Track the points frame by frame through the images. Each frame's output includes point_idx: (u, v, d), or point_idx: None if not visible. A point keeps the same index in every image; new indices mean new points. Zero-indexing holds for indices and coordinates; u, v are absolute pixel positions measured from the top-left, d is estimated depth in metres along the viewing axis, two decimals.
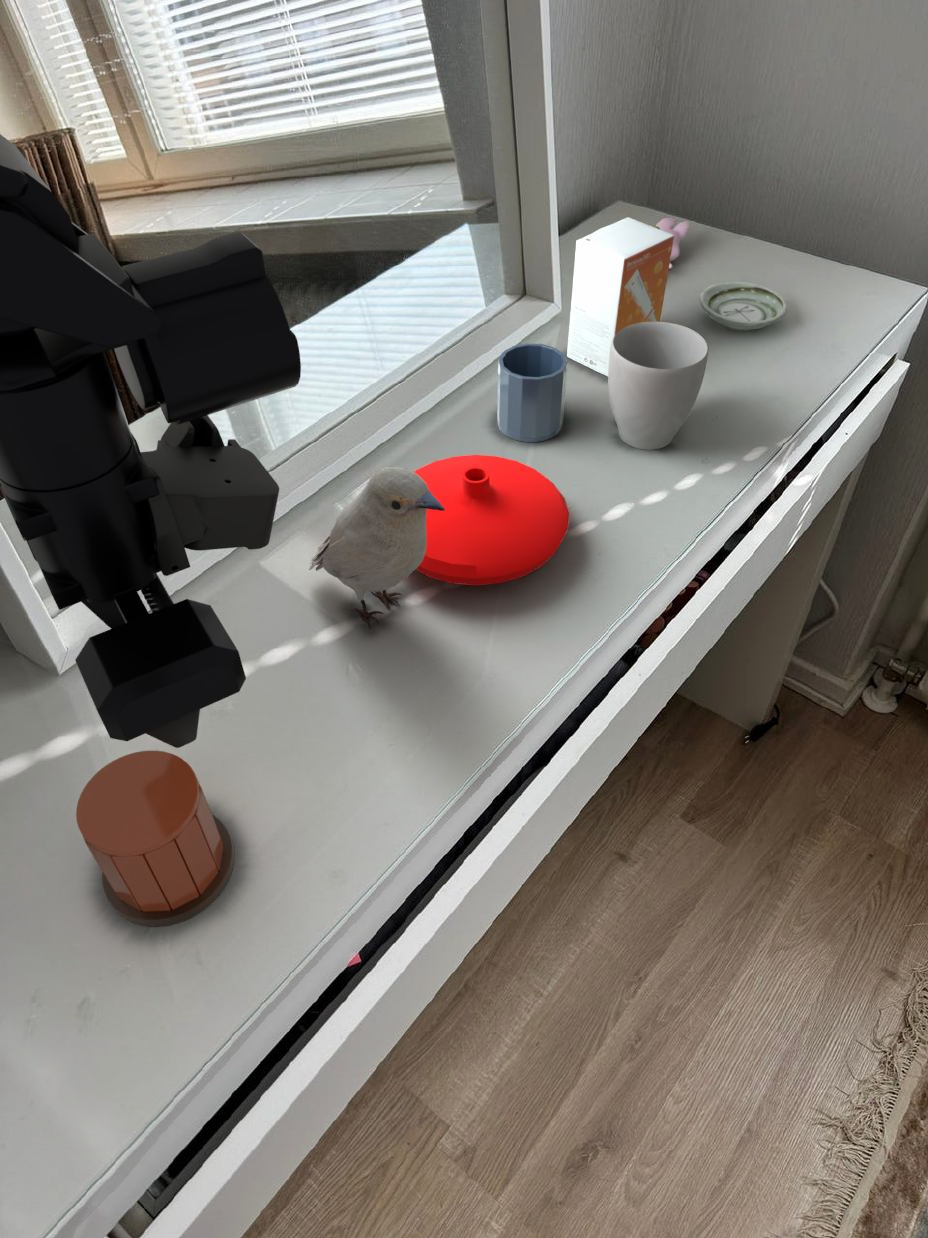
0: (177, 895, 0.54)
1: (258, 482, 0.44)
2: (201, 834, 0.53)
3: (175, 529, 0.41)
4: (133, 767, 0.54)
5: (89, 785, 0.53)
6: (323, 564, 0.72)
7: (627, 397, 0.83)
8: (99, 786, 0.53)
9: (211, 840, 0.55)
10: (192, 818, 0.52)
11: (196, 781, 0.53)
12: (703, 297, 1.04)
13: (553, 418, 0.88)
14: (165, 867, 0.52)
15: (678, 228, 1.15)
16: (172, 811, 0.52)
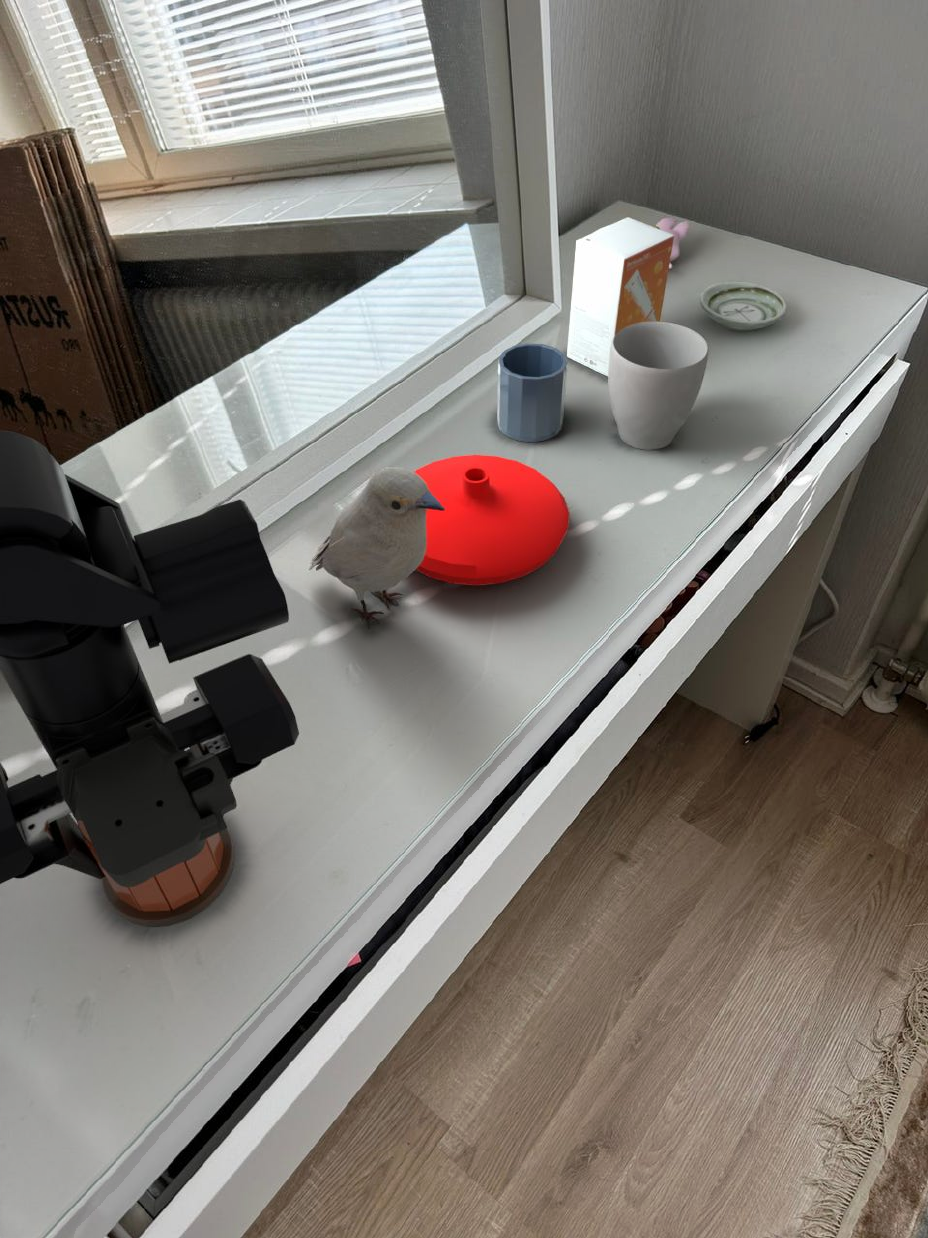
0: (177, 895, 0.54)
1: (126, 852, 0.43)
2: None
3: (60, 792, 0.45)
4: None
5: None
6: (323, 564, 0.72)
7: (627, 397, 0.83)
8: None
9: (211, 840, 0.55)
10: None
11: None
12: (703, 297, 1.04)
13: (553, 418, 0.88)
14: None
15: (678, 228, 1.15)
16: None
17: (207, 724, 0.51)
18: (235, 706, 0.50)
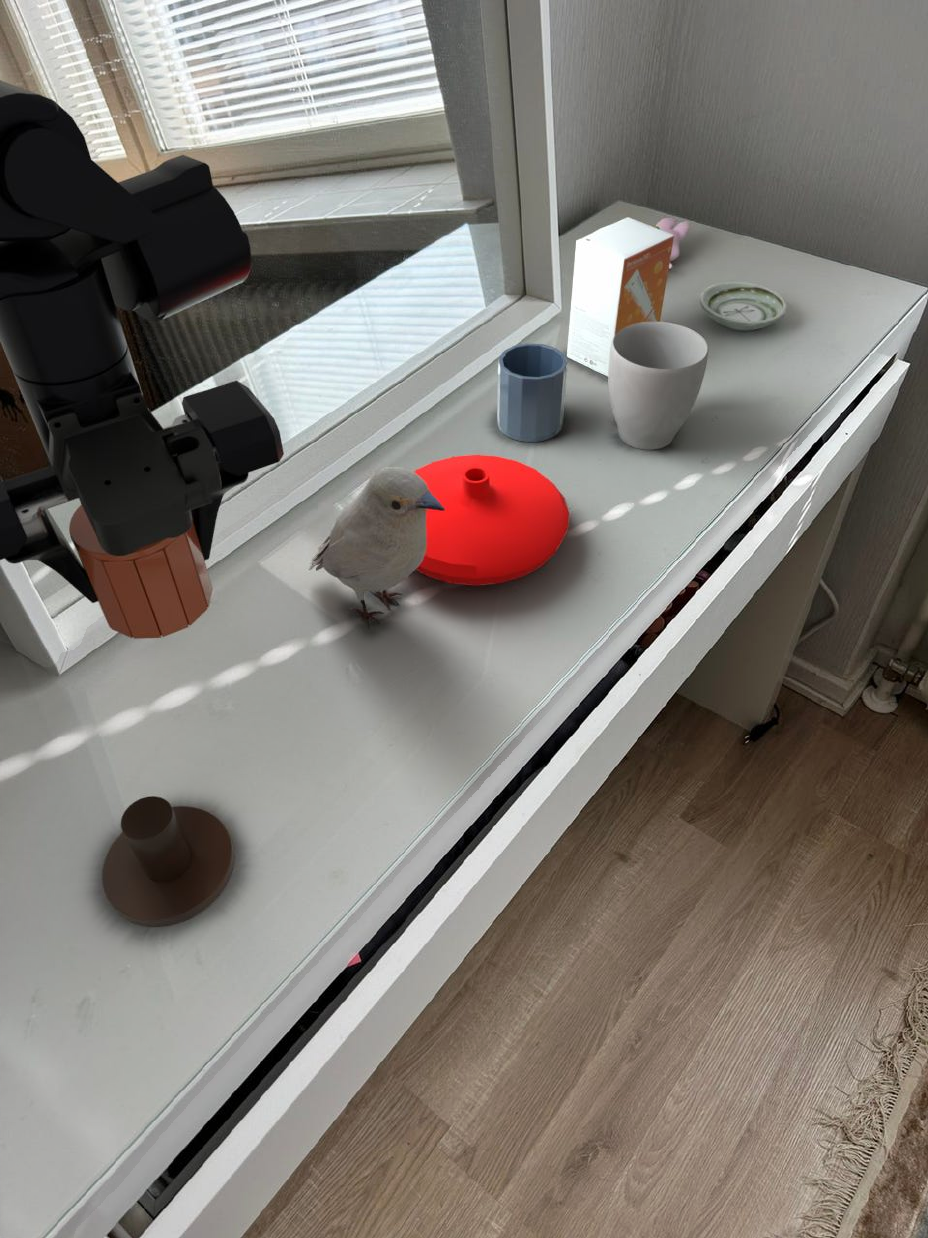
0: (166, 619, 0.56)
1: (114, 506, 0.45)
2: (190, 555, 0.55)
3: (52, 462, 0.47)
4: None
5: None
6: (323, 564, 0.72)
7: (627, 397, 0.83)
8: None
9: (200, 570, 0.57)
10: None
11: None
12: (703, 297, 1.04)
13: (553, 418, 0.88)
14: (155, 581, 0.54)
15: (678, 228, 1.15)
16: None
17: None
18: (221, 417, 0.52)
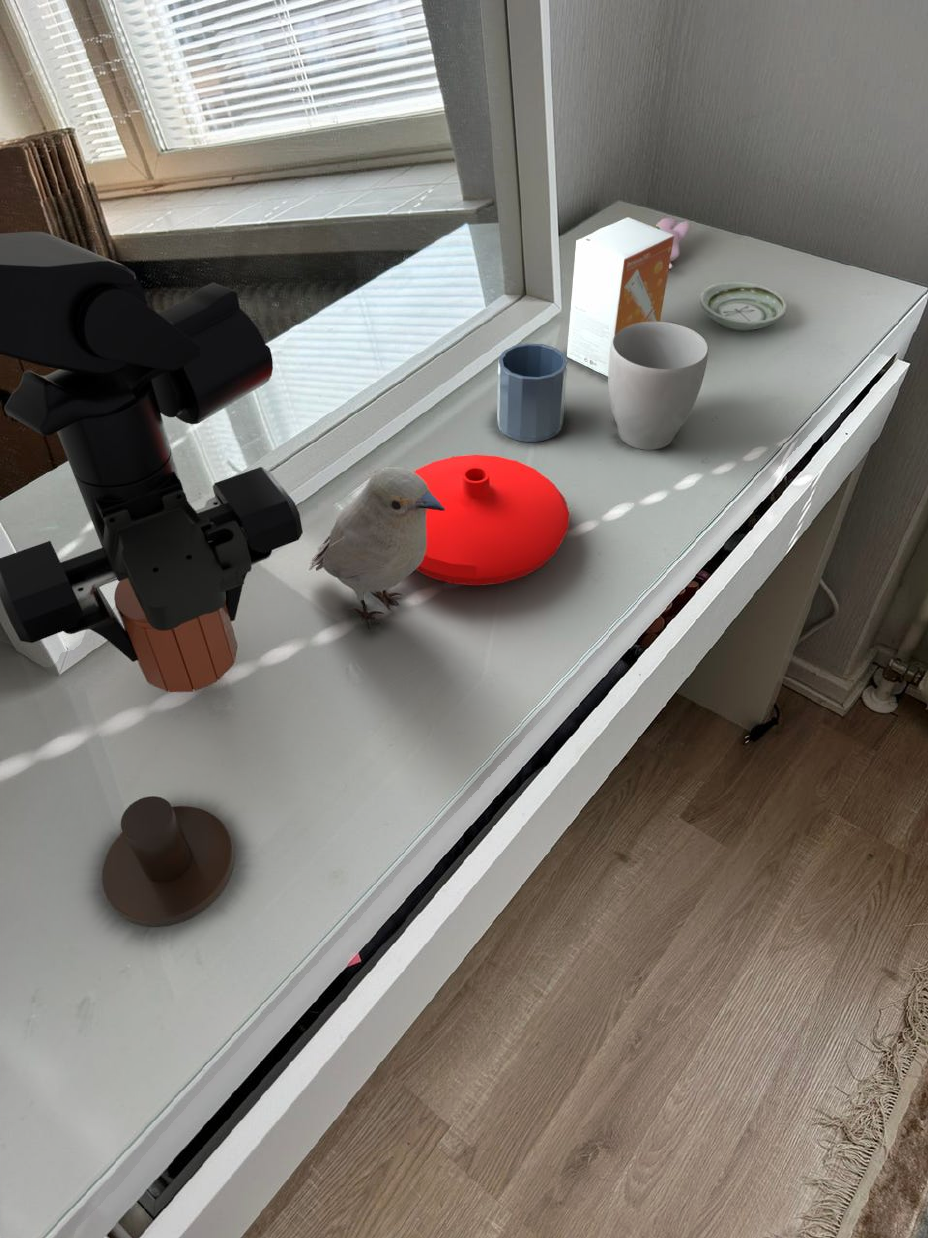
0: (198, 676, 0.64)
1: (162, 591, 0.52)
2: (219, 620, 0.63)
3: (107, 550, 0.54)
4: None
5: None
6: (323, 564, 0.72)
7: (627, 397, 0.83)
8: None
9: (227, 631, 0.65)
10: None
11: None
12: (703, 297, 1.04)
13: (553, 418, 0.88)
14: (190, 644, 0.62)
15: (678, 228, 1.15)
16: None
17: (225, 519, 0.60)
18: (249, 502, 0.60)
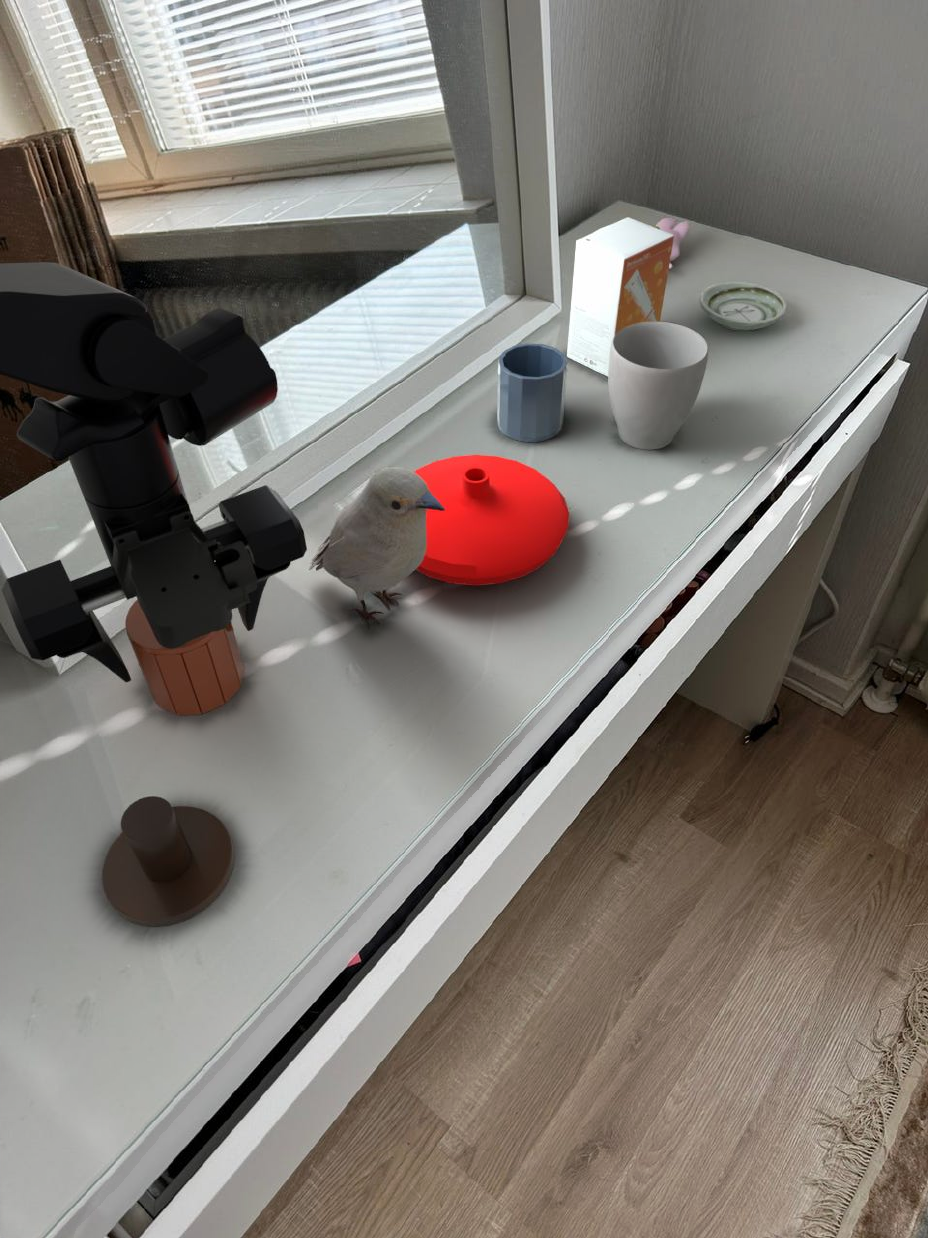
0: (206, 699, 0.66)
1: (170, 610, 0.53)
2: (227, 646, 0.65)
3: (116, 570, 0.55)
4: None
5: (135, 605, 0.64)
6: (323, 564, 0.72)
7: (627, 397, 0.83)
8: None
9: (234, 656, 0.66)
10: None
11: None
12: (703, 297, 1.04)
13: (553, 418, 0.88)
14: (198, 669, 0.63)
15: (678, 228, 1.15)
16: None
17: (231, 537, 0.62)
18: (254, 520, 0.61)
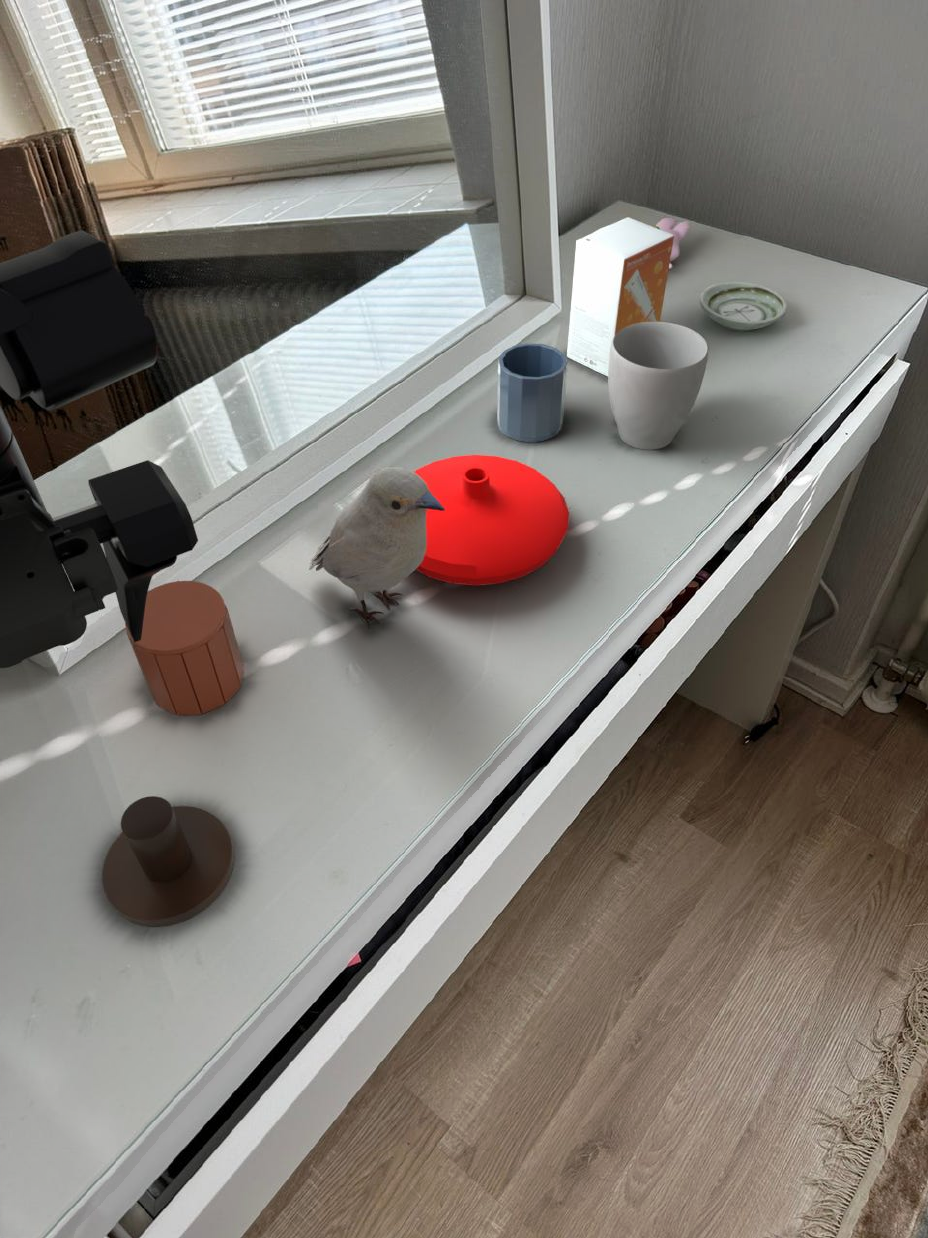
0: (206, 699, 0.66)
1: None
2: (227, 646, 0.65)
3: None
4: (170, 592, 0.65)
5: None
6: (323, 564, 0.72)
7: (627, 397, 0.83)
8: None
9: (234, 656, 0.66)
10: (220, 628, 0.63)
11: (223, 602, 0.65)
12: (703, 297, 1.04)
13: (553, 418, 0.88)
14: (198, 669, 0.63)
15: (678, 228, 1.15)
16: (204, 622, 0.63)
17: (99, 525, 0.49)
18: (127, 504, 0.48)
